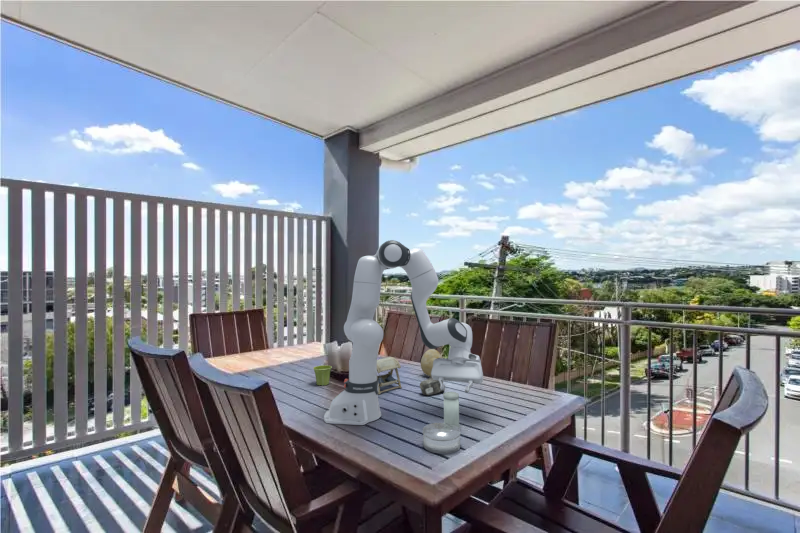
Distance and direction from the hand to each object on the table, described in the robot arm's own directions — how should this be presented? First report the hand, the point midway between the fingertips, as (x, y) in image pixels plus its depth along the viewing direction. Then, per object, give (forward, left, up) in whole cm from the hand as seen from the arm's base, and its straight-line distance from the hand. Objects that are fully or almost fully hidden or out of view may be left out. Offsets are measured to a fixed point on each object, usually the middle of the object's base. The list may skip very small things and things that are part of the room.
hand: (454, 390), depth 142 cm
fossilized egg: (-1, +63, -12) cm, 64 cm away
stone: (-4, +34, -12) cm, 37 cm away
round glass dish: (-8, -19, -12) cm, 24 cm away
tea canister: (-2, -5, -11) cm, 13 cm away
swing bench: (-27, +42, -12) cm, 51 cm away
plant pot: (-59, +53, -12) cm, 80 cm away
